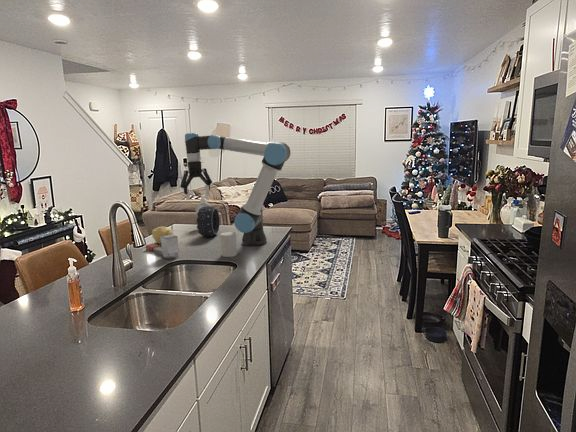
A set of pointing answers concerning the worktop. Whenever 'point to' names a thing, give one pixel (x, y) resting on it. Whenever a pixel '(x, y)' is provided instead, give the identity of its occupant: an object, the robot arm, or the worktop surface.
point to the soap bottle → (202, 204)
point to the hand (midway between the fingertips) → (198, 198)
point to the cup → (228, 244)
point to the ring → (208, 221)
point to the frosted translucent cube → (169, 244)
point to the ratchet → (160, 251)
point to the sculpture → (160, 233)
